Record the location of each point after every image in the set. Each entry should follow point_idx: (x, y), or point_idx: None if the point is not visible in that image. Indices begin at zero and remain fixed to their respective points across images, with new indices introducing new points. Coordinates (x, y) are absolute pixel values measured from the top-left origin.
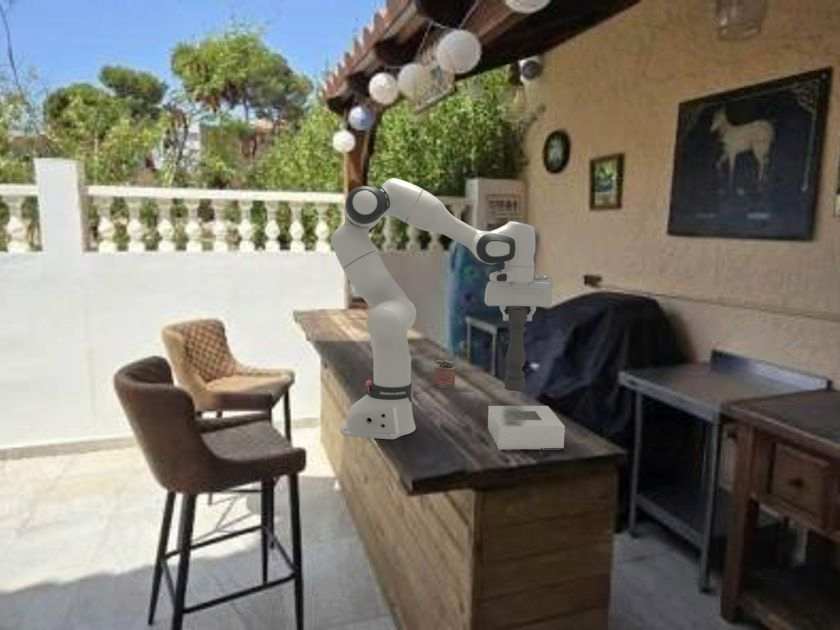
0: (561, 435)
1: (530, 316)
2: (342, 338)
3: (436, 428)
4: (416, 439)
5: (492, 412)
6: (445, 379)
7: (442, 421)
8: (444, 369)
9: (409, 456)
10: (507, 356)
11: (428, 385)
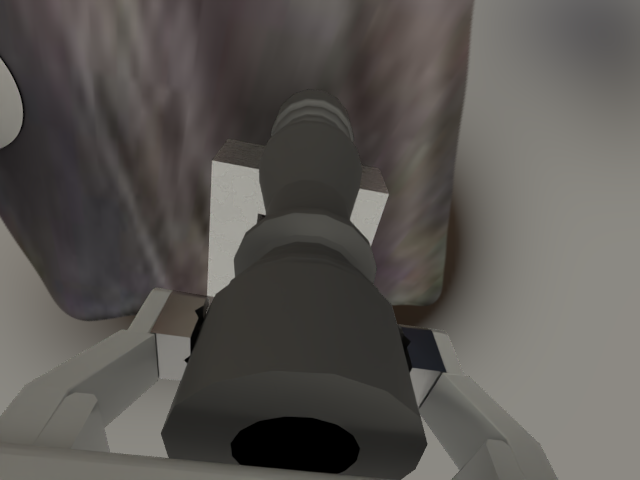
0: None
1: (421, 399)
2: None
3: (84, 109)
4: (41, 174)
5: (211, 215)
6: None
7: (99, 50)
8: None
9: (43, 252)
10: (260, 186)
11: None
